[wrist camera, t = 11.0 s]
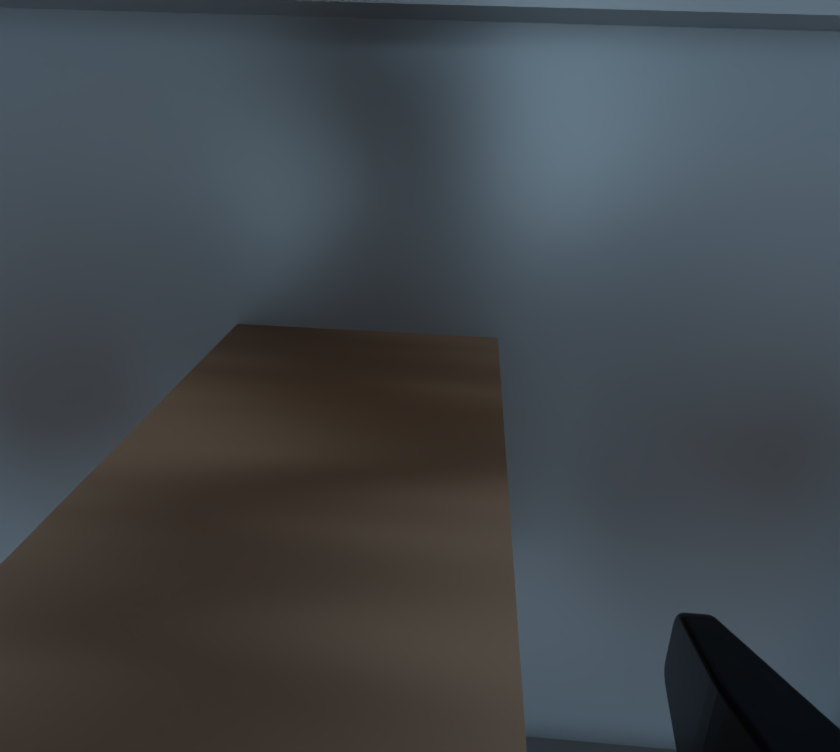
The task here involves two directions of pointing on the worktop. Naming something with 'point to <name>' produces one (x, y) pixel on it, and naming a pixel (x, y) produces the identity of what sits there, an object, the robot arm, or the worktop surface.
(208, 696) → the brown rectangular block
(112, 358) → the tray
